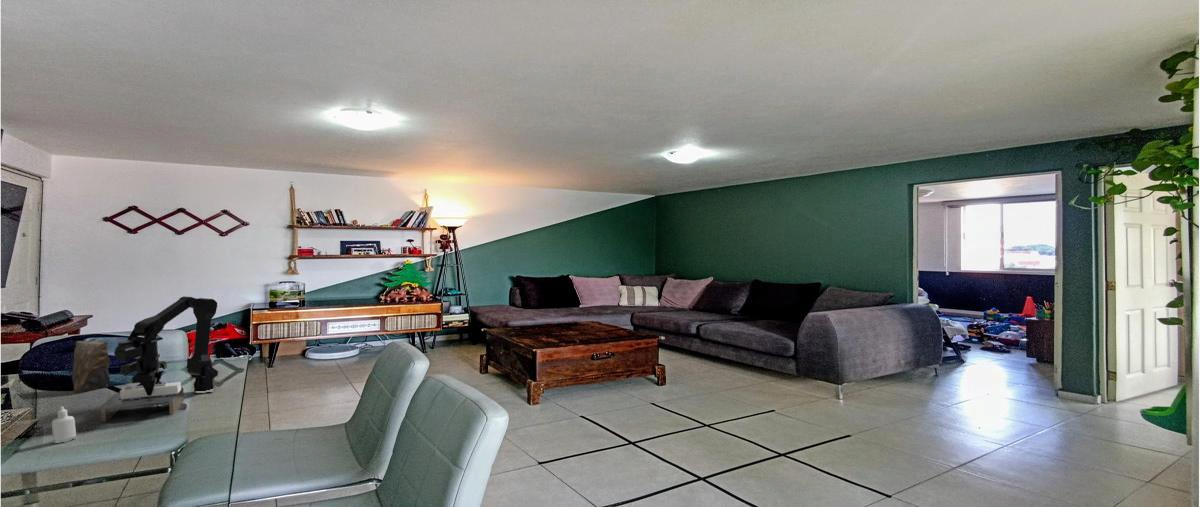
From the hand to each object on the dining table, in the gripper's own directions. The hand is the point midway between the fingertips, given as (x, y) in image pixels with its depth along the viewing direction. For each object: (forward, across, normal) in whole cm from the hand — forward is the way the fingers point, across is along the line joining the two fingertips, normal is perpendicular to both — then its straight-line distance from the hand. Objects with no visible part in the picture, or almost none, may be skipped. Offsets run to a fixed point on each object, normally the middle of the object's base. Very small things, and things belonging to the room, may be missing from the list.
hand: (151, 393), depth 225 cm
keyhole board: (+7, 0, -3) cm, 7 cm away
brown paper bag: (+7, -38, -34) cm, 51 cm away
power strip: (+3, 0, 0) cm, 3 cm away
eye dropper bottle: (+7, +22, -18) cm, 30 cm away
